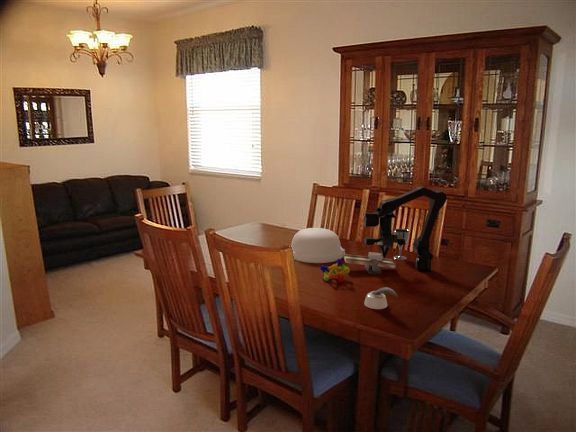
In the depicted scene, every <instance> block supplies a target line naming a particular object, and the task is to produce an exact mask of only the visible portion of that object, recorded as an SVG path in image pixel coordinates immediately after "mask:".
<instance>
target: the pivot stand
mask: <svg viewBox="0 0 576 432" xmlns="http://www.w3.org/2000/svg"><path fill="white" fill-rule="evenodd" d="M364 267H365V269H366V271H367V273H368V274H369V275H370V274H371V275H377V274H378V275H379V274H382V270H381V268H380V267H379V266H378V262H372V266H370V265H364Z"/></svg>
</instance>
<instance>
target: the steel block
mask: <svg viewBox="0 0 576 432" xmlns="http://www.w3.org/2000/svg"><path fill="white" fill-rule="evenodd" d="M367 257H368V260H370V261H379V262H382V258H383V255H382V252H375V251H374V252H373V251H368V254H367Z"/></svg>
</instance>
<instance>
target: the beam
mask: <svg viewBox="0 0 576 432" xmlns="http://www.w3.org/2000/svg"><path fill="white" fill-rule="evenodd" d="M343 259H344V262H345V263H346V264H354V265H362V266H365V265H370V266H372V262H378V267H379V268H380V267H382V268H388V269H389V268H391V269H396V266H397V265H396V264H397V263H396V262H395V263H394V258H393V259H392V258H382V262H379V261H370V260H368V256H366V255H357V254H356V255H355V254H349V253H348V254H347V253H345V254H344V256H343Z"/></svg>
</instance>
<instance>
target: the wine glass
mask: <svg viewBox="0 0 576 432" xmlns="http://www.w3.org/2000/svg"><path fill="white" fill-rule="evenodd" d="M393 235H397V236H398V237H403V238H404V239H405V244H407V242H408V240H409V237H410V230H409V229H405V228H394V229H393ZM396 245H397V246H398V249H399V254H398V255H394V256H393V257H392V258H393V260H397V261H405V260H407V257H406V256H403V255H402V249H403V246H404V245H399V244H398V243H396Z"/></svg>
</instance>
